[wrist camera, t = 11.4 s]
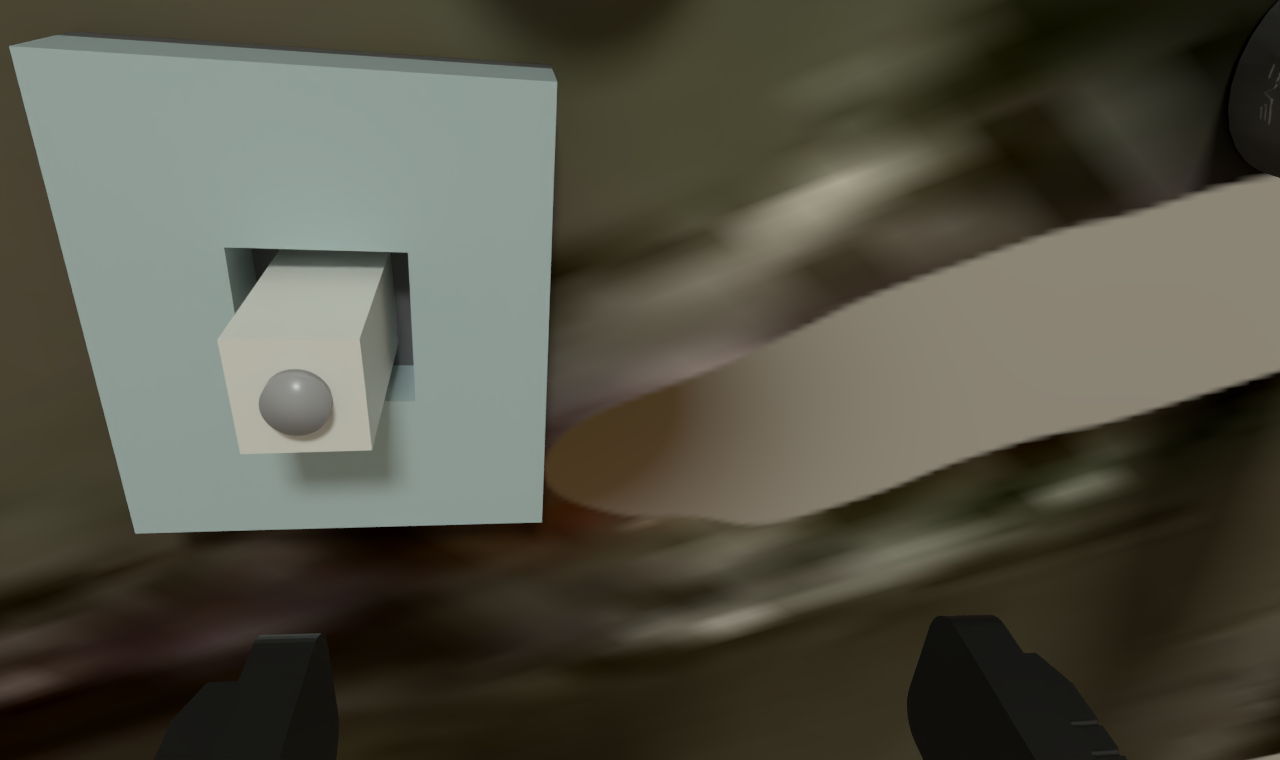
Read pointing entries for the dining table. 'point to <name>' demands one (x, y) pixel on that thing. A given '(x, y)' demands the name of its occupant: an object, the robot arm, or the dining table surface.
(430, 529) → the dining table surface
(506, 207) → the outlet block
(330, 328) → the cream block with knob
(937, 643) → the robot arm
